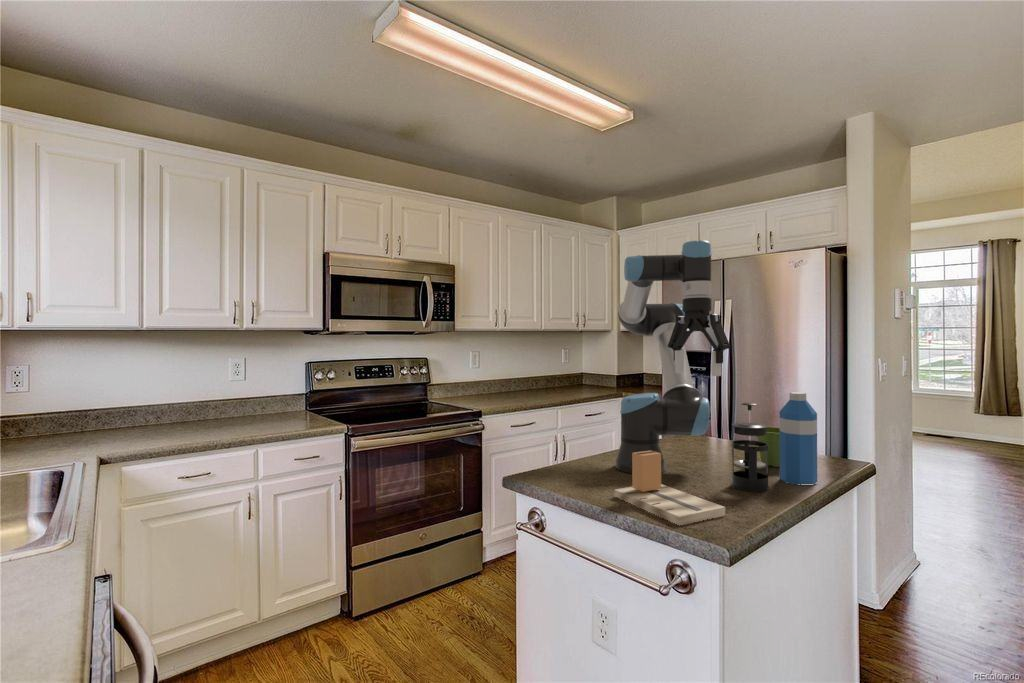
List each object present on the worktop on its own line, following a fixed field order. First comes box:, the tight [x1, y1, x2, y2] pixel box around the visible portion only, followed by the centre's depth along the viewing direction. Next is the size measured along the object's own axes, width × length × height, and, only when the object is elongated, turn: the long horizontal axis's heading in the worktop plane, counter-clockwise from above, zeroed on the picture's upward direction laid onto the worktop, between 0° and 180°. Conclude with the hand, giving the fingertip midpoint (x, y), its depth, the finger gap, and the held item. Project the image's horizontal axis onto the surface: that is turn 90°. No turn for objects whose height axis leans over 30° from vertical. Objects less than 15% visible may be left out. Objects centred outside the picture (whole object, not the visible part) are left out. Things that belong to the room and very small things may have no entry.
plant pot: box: [756, 426, 780, 468], centre depth 166 cm, size 12×12×11 cm
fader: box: [631, 450, 662, 492], centre depth 133 cm, size 4×6×9 cm, turn 116°
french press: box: [731, 402, 770, 493], centre depth 142 cm, size 12×9×23 cm
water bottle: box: [778, 391, 818, 485], centre depth 147 cm, size 9×9×25 cm
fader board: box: [613, 483, 726, 527], centre depth 127 cm, size 23×14×2 cm, turn 26°
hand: (697, 374), depth 144 cm, fingers open, 13 cm apart
